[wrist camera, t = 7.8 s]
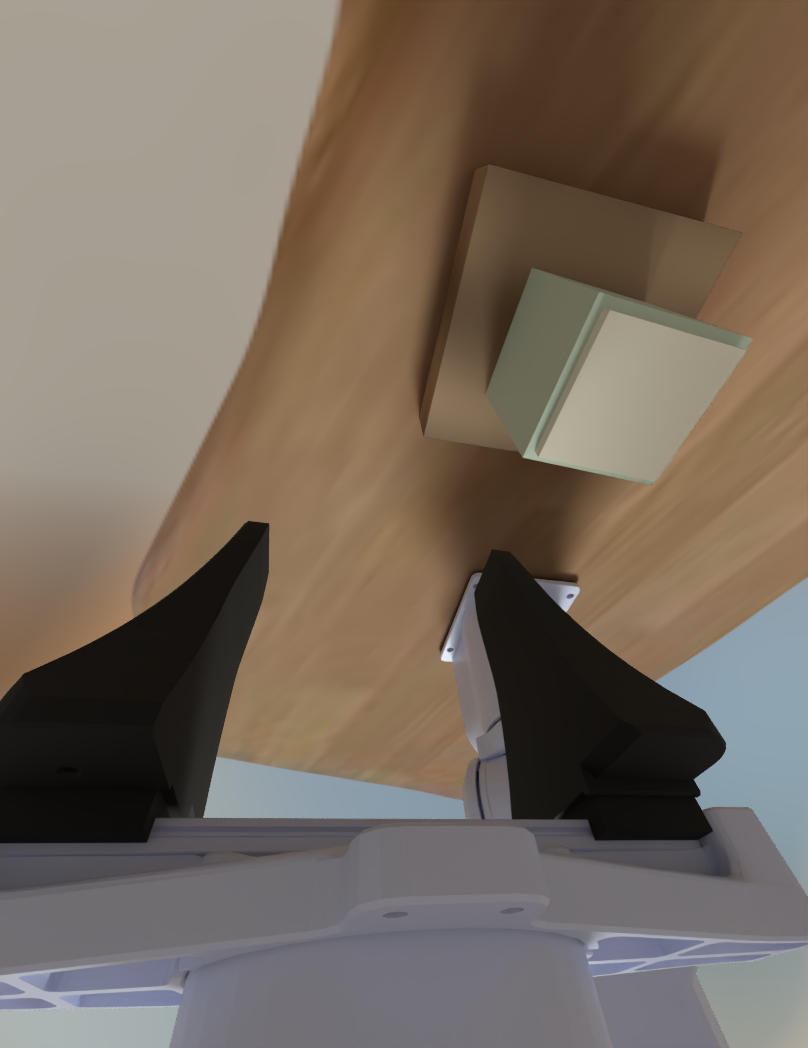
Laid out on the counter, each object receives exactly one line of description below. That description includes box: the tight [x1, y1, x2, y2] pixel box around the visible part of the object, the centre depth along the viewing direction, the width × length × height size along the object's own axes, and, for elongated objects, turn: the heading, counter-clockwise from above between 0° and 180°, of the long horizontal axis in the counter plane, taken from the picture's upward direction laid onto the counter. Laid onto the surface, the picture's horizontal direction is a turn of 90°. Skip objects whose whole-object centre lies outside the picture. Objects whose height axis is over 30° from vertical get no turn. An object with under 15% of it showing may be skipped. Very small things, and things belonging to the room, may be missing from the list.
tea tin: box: [485, 268, 753, 485], centre depth 15 cm, size 5×5×6 cm
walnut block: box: [419, 164, 742, 452], centre depth 19 cm, size 10×10×3 cm
